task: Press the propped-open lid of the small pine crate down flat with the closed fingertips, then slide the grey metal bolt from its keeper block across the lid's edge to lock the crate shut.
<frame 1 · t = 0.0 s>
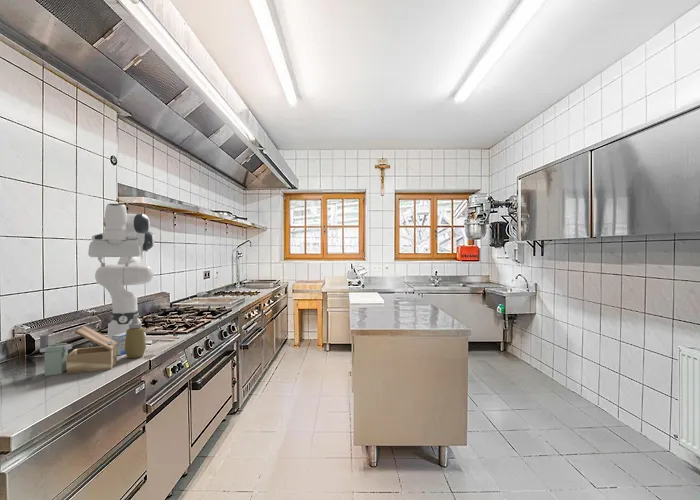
hand: (115, 266, 162), 39 cm above the counter, tool pointing down, fingers open, 8 cm apart
lid: (97, 337, 138), point 12 cm above the counter, hinge at 35.0°
medicine box: (123, 353, 158), on the counter
crate: (93, 367, 138), on the counter
keeper: (56, 371, 133), on the counter
squeeze bottle: (135, 356, 152), on the counter
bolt: (56, 342, 133), point 11 cm above the counter, slide at 0.0 cm
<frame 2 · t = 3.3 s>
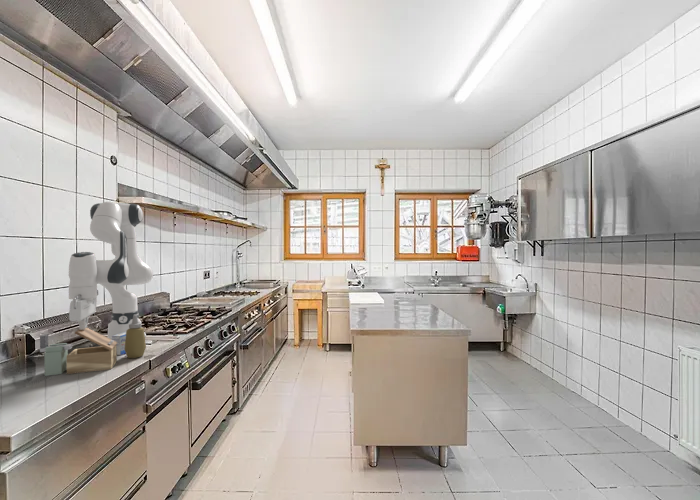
hand: (83, 328, 137), 16 cm above the counter, tool pointing down, fingers closed, pressing on lid
lid: (97, 337, 138), point 12 cm above the counter, hinge at 34.2°, touching gripper
everything else where it was.
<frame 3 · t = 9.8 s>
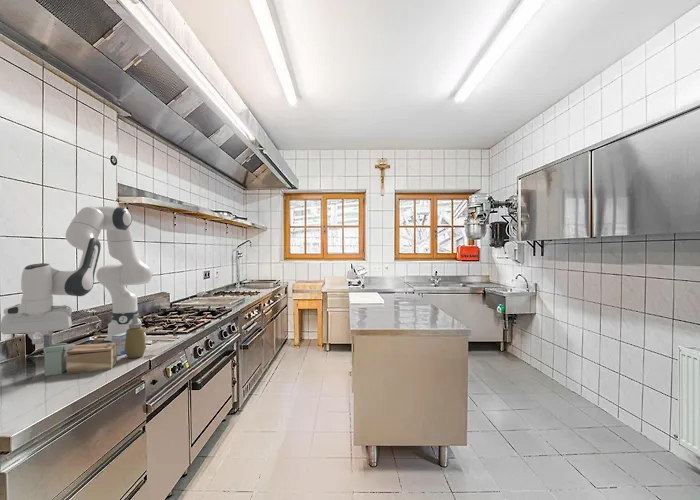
hand: (37, 343, 131), 11 cm above the counter, tool pointing down, fingers closed
lid: (92, 347, 138), point 8 cm above the counter, hinge at 1.2°
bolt: (59, 341, 134), point 11 cm above the counter, slide at 1.1 cm, touching gripper
everything else where it was.
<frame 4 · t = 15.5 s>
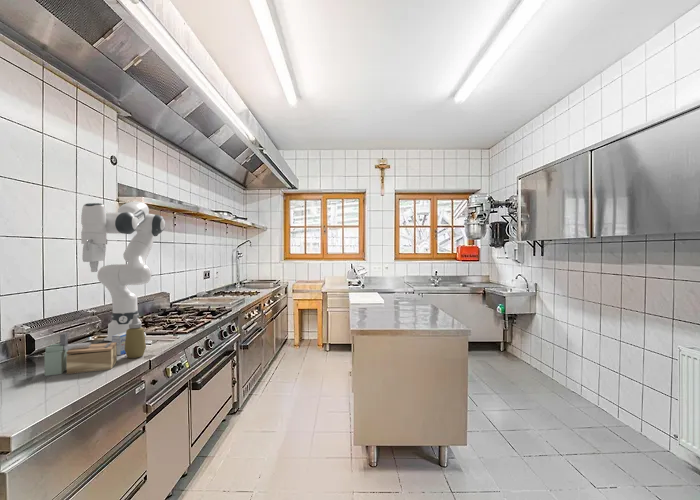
hand: (94, 271, 151), 37 cm above the counter, tool pointing down, fingers closed
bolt: (75, 340, 136), point 11 cm above the counter, slide at 6.0 cm
everything else where it was.
at the end: lid at +1° (first picture: +35°); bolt slide at 6.0 cm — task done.
